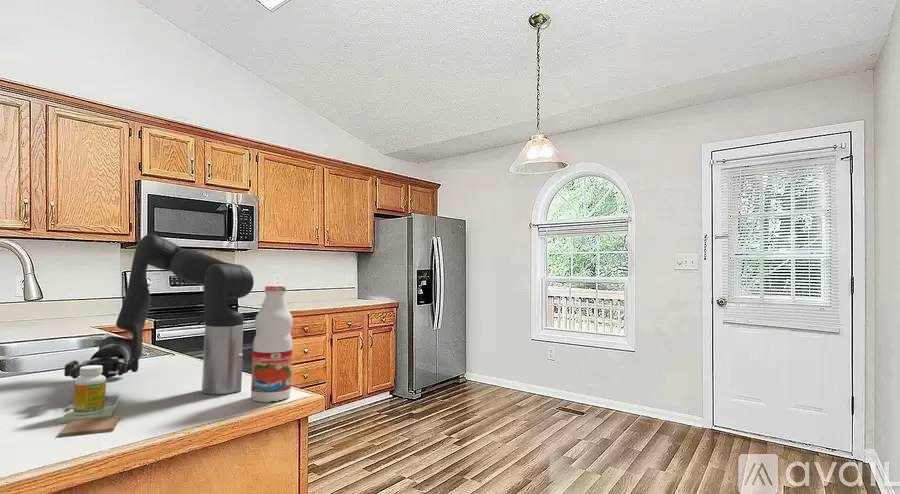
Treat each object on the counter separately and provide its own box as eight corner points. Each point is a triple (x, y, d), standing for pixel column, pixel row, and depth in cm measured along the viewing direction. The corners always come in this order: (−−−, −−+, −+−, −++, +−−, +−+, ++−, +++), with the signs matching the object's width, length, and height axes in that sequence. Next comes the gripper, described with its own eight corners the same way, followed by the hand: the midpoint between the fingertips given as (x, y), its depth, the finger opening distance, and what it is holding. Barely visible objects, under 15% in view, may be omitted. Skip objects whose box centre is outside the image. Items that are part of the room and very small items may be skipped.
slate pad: (118, 397, 117) (118, 395, 117) (112, 407, 110) (112, 404, 110) (75, 401, 114) (75, 398, 114) (65, 411, 106) (66, 408, 106)
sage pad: (116, 407, 109) (116, 405, 109) (109, 418, 102) (109, 415, 102) (70, 411, 106) (70, 409, 106) (59, 423, 98) (59, 420, 98)
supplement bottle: (87, 416, 101) (90, 370, 101) (66, 414, 102) (69, 368, 102) (110, 409, 106) (112, 365, 106) (90, 407, 107) (92, 363, 107)
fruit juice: (288, 391, 127) (293, 285, 128) (292, 401, 118) (296, 287, 120) (250, 394, 123) (255, 285, 124) (250, 404, 114) (256, 286, 116)
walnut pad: (120, 418, 102) (120, 415, 102) (113, 431, 94) (113, 427, 94) (70, 423, 98) (70, 420, 98) (58, 436, 90) (58, 433, 90)
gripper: (77, 346, 121) (59, 357, 106) (143, 344, 127) (135, 354, 113) (75, 376, 121) (57, 392, 106) (142, 372, 127) (134, 386, 112)
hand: (97, 372), depth 109 cm, fingers open, 8 cm apart
